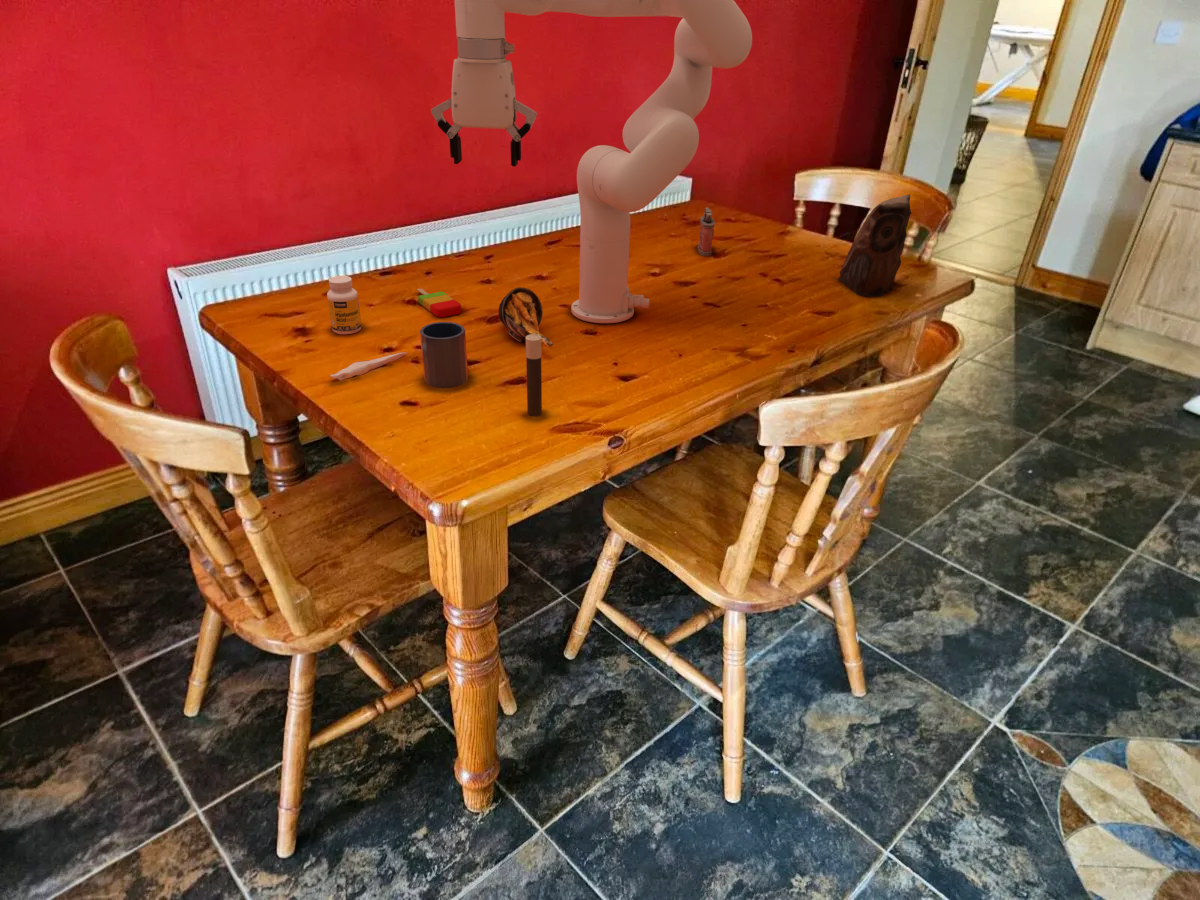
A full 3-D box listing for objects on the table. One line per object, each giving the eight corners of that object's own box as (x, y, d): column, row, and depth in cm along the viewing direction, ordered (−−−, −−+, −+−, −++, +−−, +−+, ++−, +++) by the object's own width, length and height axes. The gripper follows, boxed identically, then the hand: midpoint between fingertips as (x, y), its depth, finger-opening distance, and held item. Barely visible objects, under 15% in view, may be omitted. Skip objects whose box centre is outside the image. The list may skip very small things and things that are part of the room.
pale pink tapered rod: (336, 386, 128) (334, 376, 127) (327, 381, 129) (325, 371, 128) (412, 359, 137) (411, 349, 136) (402, 354, 139) (401, 344, 138)
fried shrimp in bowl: (528, 294, 153) (585, 290, 139) (521, 350, 154) (576, 352, 140) (488, 283, 148) (542, 279, 134) (480, 342, 148) (533, 344, 134)
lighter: (713, 255, 193) (717, 214, 188) (699, 255, 193) (703, 214, 188) (709, 246, 200) (713, 206, 195) (696, 245, 200) (700, 205, 195)
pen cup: (471, 372, 134) (468, 322, 129) (463, 391, 128) (459, 339, 123) (430, 370, 134) (426, 320, 129) (420, 389, 128) (415, 337, 123)
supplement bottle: (335, 337, 145) (327, 285, 139) (329, 326, 149) (321, 276, 144) (365, 332, 147) (358, 281, 142) (358, 322, 151) (351, 272, 146)
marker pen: (543, 412, 122) (542, 334, 116) (541, 419, 120) (540, 340, 114) (528, 411, 122) (526, 333, 116) (526, 418, 120) (524, 339, 114)
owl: (892, 280, 181) (913, 191, 171) (907, 300, 170) (930, 206, 160) (837, 278, 182) (854, 188, 171) (848, 297, 171) (867, 203, 160)
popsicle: (438, 319, 153) (437, 309, 152) (406, 295, 164) (406, 287, 163) (464, 313, 156) (463, 304, 155) (431, 291, 167) (430, 282, 166)
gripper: (538, 50, 128) (539, 161, 137) (432, 46, 128) (440, 157, 137) (532, 55, 121) (534, 170, 130) (421, 50, 122) (430, 166, 131)
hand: (486, 163), depth 134 cm, fingers open, 9 cm apart
